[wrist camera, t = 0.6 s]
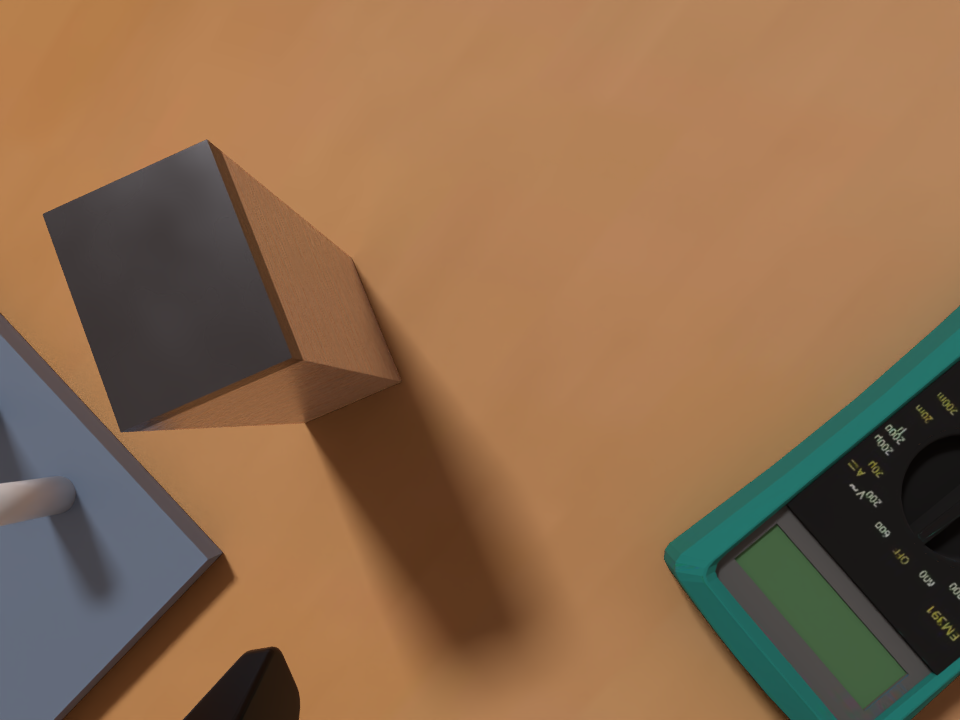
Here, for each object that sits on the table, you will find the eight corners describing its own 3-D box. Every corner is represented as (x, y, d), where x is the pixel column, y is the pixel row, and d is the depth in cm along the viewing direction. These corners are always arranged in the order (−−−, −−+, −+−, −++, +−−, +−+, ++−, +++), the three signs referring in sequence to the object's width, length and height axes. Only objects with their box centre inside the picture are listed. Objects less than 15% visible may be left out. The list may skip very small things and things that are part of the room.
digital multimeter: (1189, 431, 21) (1296, 434, 18) (808, 743, 21) (852, 797, 18) (1012, 250, 22) (1086, 224, 19) (648, 552, 22) (665, 574, 19)
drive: (401, 381, 22) (292, 357, 13) (304, 423, 23) (120, 431, 13) (351, 257, 23) (206, 139, 13) (256, 299, 23) (42, 214, 13)
